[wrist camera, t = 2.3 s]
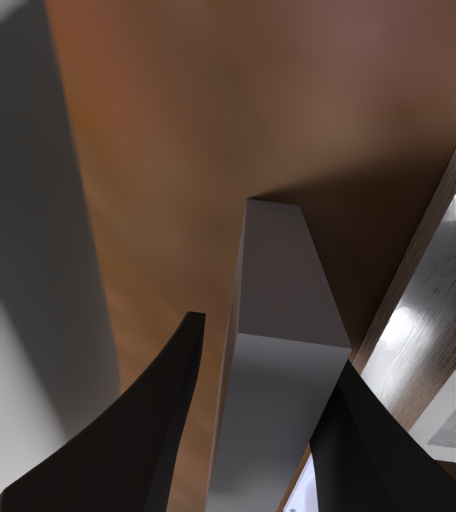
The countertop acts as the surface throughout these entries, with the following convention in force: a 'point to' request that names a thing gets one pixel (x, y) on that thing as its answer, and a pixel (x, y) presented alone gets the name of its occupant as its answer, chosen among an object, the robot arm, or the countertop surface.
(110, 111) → the countertop surface
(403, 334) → the rack
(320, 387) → the panel
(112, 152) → the countertop surface
